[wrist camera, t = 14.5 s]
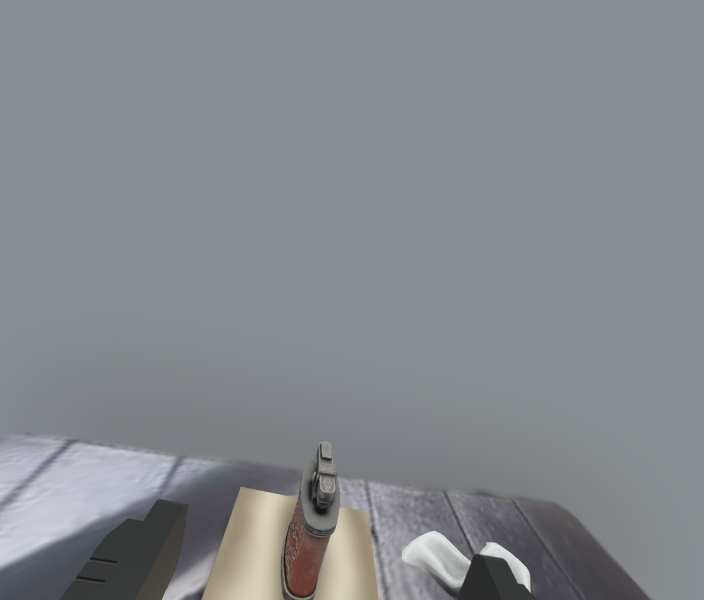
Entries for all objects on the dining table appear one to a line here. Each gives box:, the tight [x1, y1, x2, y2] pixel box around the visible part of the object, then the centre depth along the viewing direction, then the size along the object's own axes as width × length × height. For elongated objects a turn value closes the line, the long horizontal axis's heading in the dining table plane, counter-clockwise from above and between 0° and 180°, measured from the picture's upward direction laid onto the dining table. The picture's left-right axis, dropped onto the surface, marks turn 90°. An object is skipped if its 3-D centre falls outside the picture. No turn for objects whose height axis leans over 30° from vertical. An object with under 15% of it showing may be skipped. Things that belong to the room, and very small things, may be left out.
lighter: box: [280, 442, 340, 600], centre depth 31 cm, size 8×3×10 cm, turn 6°
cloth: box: [402, 531, 531, 600], centre depth 36 cm, size 22×19×6 cm
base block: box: [202, 487, 378, 600], centre depth 32 cm, size 14×14×4 cm
